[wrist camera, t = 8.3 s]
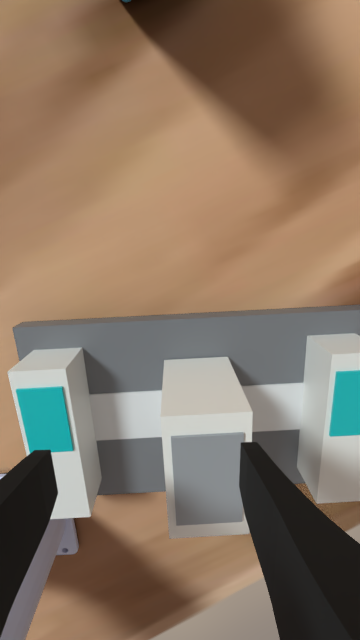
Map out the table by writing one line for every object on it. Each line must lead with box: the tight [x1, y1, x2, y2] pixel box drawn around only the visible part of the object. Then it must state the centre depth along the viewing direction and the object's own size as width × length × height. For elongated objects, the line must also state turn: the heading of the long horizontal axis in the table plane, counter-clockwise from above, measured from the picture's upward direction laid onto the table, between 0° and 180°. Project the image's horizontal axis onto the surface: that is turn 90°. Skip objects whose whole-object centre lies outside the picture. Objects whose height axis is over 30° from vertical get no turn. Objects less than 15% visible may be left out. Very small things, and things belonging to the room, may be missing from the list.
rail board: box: [8, 305, 360, 519], centre depth 19 cm, size 22×13×4 cm, turn 93°
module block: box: [160, 357, 253, 539], centre depth 16 cm, size 4×7×6 cm, turn 3°
